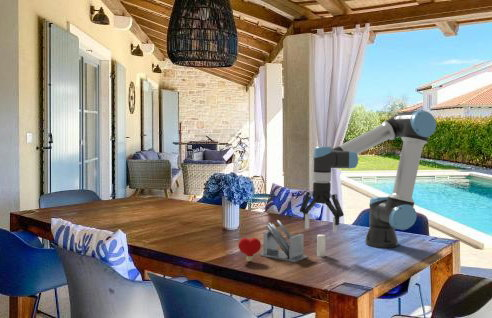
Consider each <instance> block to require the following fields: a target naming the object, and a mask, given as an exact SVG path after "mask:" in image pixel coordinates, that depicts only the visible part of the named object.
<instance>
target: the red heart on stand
mask: <svg viewBox="0 0 492 318" xmlns="http://www.w3.org/2000/svg"><path fill="white" fill-rule="evenodd" d="M261 247H262V243H261V241H260V240H259V239H258V238H257V237H252V238H250V239H249V238H248V237H243V238H241V239H240V240H239V242H238V249H239V251H240V252H241V253H242V254H244V255H245V256H246V261H247V262H248V263H251V262H252V261H253V260H254V259H253V257H254V255H255V254H256V253H258V252H260V250H261Z"/></svg>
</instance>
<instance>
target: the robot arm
mask: <svg viewBox="0 0 492 318" xmlns="http://www.w3.org/2000/svg"><path fill="white" fill-rule="evenodd" d="M436 128H437V123H436V119H435V117H434V116H433V114H431V113H430V112H429V111H427V110H419V109H418V110H412V111H403V112H399V113H398V114H395V115H394V116H392V117H390V118H388V119H386V120H383V122H382V123H381V125H379V126H376V127H375V128H374V127H373V129H370V130H368V131H366V132H364V133H361V134H360V135H358V136H356V137H354V138H352V139H350V140H347V141H345V142H344V143H342V144H339V145H338V146H335V147H333V148H332V147H331V146H320V145H317V146H315V147H314V150H313V175H312V176H313V178H312V181H313V184H312V187H313V188H312V191H313V192H312V191H306V194H305V198H304V201H303V202H302V205H301V207H300V208H299V212H301V213H302V215H303V219H302V220H303V221H304V230H305V229H306V230H307V229H310V219H311V217H310V215H311V213H309V212H310V211H311V209H313V208H314V206H315V205H316V204H322V205H324V204H325V206H327V208H328V209H329V210H330V212H331V213H332V215H333V216H334V217H332V234H337V233H338V226H339V225H340V218H342V217H344V216H345V214H344V212H343V210H342V207H341V205H340V202H339V200H338V194H337V193H334V194H332V193H331V189H332V188H331V186H332V185H331V184H332V183H331V180H332V169H349V170H350V169H355V168H356V167H357V166H358V163H359V155H360V154H361V153H363V152H366V151H368V150H370V149H371V148H373V147H375V146H378V145H380V144H382V143H384V142H385V141H388V140H390V141H392V140H395V139H397V138H400V139H401V141H402V148H401V153H400V157H399V161H398V167H397V170H396V174H395V180H394V186H393V189H392V192H391V194H389V195H388V196H375V197H374V196H372V197H371V198H370V200H369V220H368V221H369V224H368V225H369V228H368V230H367V233H366V237H365V244H366V245H367V246H370V247H373V246H374V247H375V248H381V247H382V248H383V249H385V248H386V249H387V248H389V247H391V248H395V246H396V247H397V246H399V240H398V236H397V234H396V231H395V230H401V231H403V230H404V231H405V230H407V229H410V228H411V227H413V225H414V224H415V222H416V221H417V215H418V214H417V211H416V209H415V207H414V206H415V201H414V199H413V194H414V189H415V184H416V180H417V175H418V171H419V166H420V160H421V156H422V152H423V147H424V145H427V144H428V141H429V137H430V136H432V135H433V134H434V133H435V132H436ZM312 197H313V199H312V200H311V198H312ZM310 200H311V202H310ZM309 202H310V203H309ZM382 248H381V249H382ZM389 249H390V248H389Z"/></svg>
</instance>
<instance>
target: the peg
mask: <svg viewBox="0 0 492 318" xmlns="http://www.w3.org/2000/svg"><path fill="white" fill-rule="evenodd" d="M326 236H327V235H325V234H317V236H316V243H317V244H316V256H317V257H319V258H324V257H326Z"/></svg>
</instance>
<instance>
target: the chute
mask: <svg viewBox="0 0 492 318" xmlns="http://www.w3.org/2000/svg"><path fill="white" fill-rule="evenodd" d="M275 223H277V225H278V226H279V228H280V229H281V231H282V232H283V233H284V235H285V236H286V237H287V238H288V241H287V239H286V238H285V236H283V234H282V233H281V231H280V230H279V228H278V227H277V226H276V225H275ZM275 223H272V222H268V223H267V225H266V227H265V228H266V229H267V231H263V236H262V237H263V241H262V242H263V246H262V247H263V251H262V252H261V253H259V256H261V257H266V258H270V259H276V260H282V261H286V262H293V263H297V262H299V261H302V260H304V259H306V258H308V255H305V254H304V233H298V234H294V235H291V233H290V232H289V231H288V230H287V229H286V227H285V225H284V224H283V223H282V222H281V221H280V220H279V219H277V220H276V222H275ZM279 247H280V248H281V249H282V250H279Z"/></svg>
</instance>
